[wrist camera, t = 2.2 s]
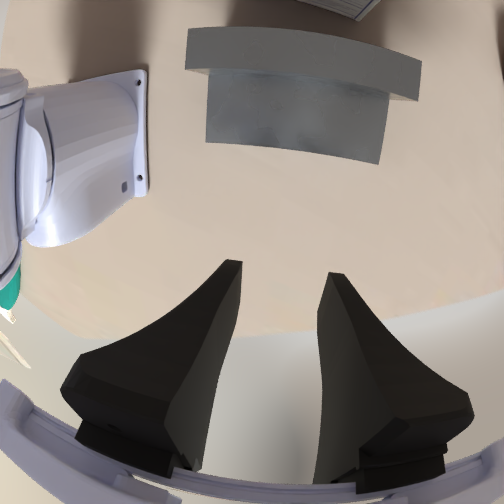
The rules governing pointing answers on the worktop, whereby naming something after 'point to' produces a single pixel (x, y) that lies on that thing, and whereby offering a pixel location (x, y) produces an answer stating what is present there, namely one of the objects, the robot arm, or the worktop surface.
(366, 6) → the medicine box
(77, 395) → the robot arm
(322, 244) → the worktop surface
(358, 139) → the bookend
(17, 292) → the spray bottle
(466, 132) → the worktop surface
